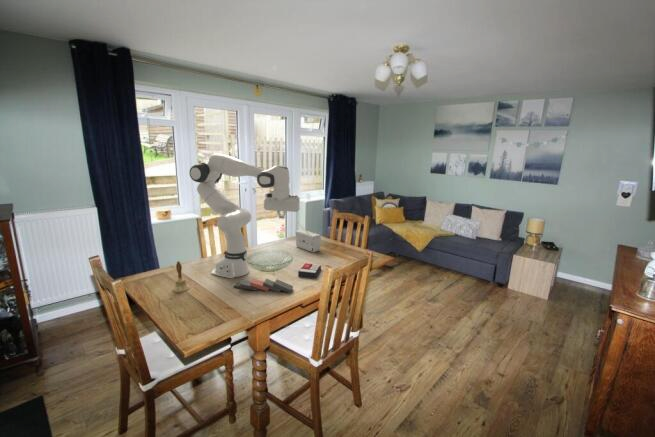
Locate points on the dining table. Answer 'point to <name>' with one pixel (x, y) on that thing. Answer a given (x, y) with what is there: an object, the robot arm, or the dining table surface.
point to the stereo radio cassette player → (308, 240)
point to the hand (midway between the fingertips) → (281, 218)
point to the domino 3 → (258, 284)
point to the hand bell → (180, 280)
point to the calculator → (309, 270)
